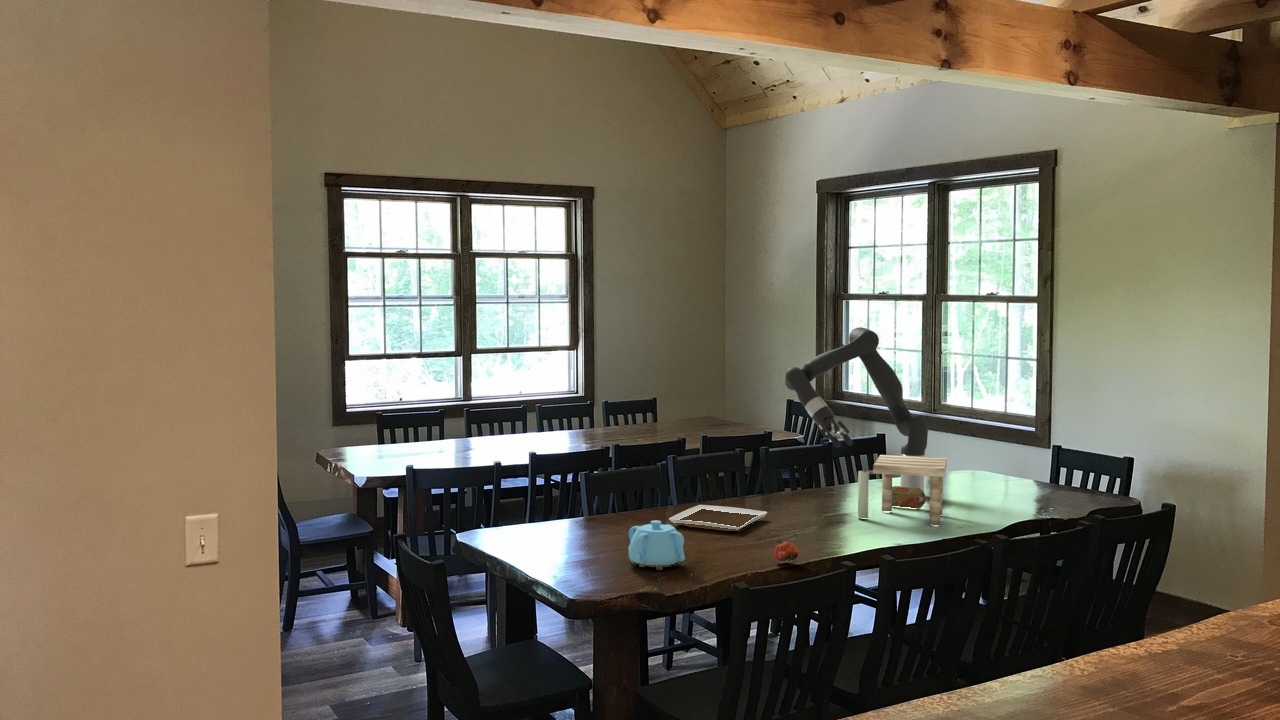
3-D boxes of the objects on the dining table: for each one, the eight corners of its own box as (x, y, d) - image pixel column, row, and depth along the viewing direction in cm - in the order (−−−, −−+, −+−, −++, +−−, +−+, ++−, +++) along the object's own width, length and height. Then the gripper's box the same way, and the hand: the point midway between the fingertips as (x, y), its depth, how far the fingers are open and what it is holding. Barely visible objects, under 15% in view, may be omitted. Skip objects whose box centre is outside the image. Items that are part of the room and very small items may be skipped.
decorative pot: (630, 573, 301) (630, 528, 300) (627, 559, 317) (626, 515, 316) (686, 572, 302) (686, 526, 301) (679, 558, 318) (679, 514, 317)
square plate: (667, 528, 360) (667, 517, 360) (700, 513, 384) (700, 503, 384) (739, 536, 347) (739, 525, 347) (768, 520, 372) (768, 510, 371)
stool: (879, 510, 387) (880, 454, 386) (945, 514, 380) (946, 457, 378) (872, 523, 364) (873, 464, 363) (943, 528, 357) (944, 468, 355)
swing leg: (884, 514, 378) (884, 468, 377) (890, 516, 375) (891, 469, 374) (855, 518, 372) (856, 471, 371) (862, 520, 369) (862, 472, 368)
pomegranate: (802, 572, 309) (791, 546, 316) (805, 557, 304) (794, 531, 311) (778, 576, 308) (768, 550, 315) (781, 561, 303) (770, 535, 310)
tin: (884, 507, 393) (884, 485, 392) (886, 505, 396) (887, 484, 395) (924, 511, 386) (924, 488, 385) (926, 509, 389) (926, 487, 388)
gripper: (815, 406, 381) (841, 440, 374) (835, 404, 391) (861, 437, 384) (802, 419, 384) (828, 453, 378) (823, 416, 395) (848, 449, 388)
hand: (845, 445), depth 381 cm, fingers open, 8 cm apart
